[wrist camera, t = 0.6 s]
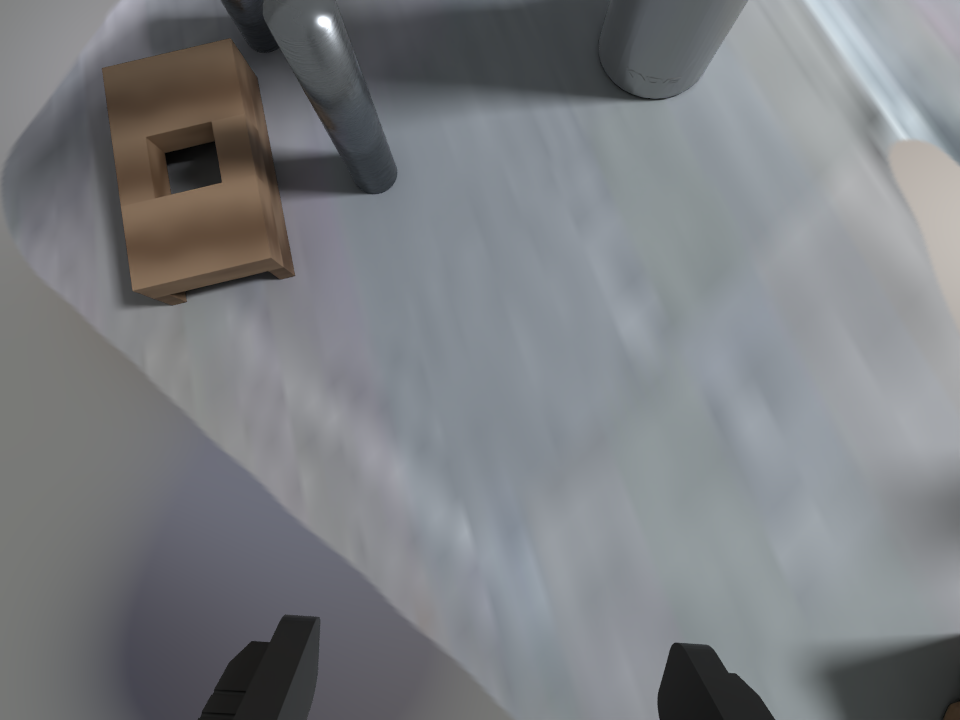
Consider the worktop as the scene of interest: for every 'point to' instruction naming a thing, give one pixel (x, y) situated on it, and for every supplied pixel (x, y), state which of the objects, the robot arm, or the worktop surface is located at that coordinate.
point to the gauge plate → (203, 211)
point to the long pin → (334, 85)
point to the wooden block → (953, 712)
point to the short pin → (251, 23)
